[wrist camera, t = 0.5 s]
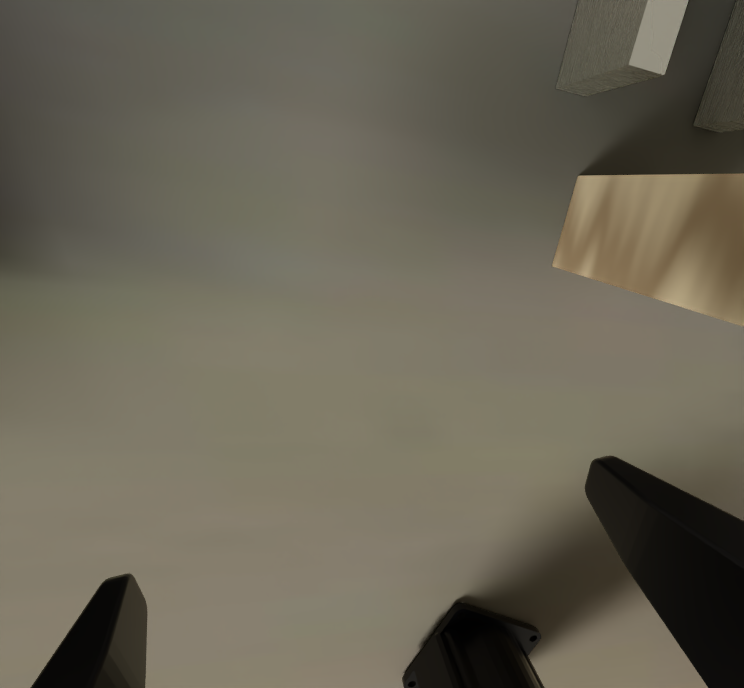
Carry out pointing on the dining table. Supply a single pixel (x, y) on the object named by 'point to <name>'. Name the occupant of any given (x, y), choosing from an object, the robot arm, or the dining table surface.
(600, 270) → the beech pin
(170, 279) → the dining table surface
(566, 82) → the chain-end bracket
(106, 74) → the dining table surface
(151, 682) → the dining table surface
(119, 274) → the dining table surface
